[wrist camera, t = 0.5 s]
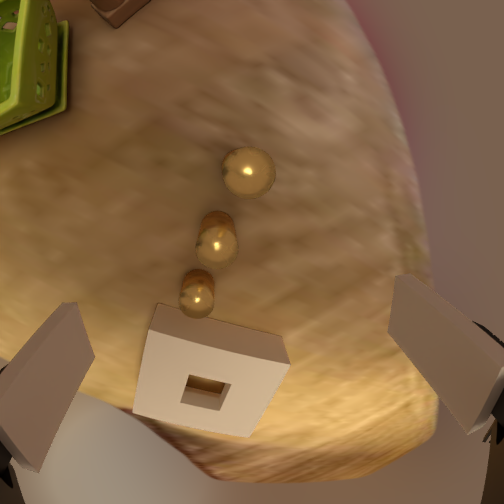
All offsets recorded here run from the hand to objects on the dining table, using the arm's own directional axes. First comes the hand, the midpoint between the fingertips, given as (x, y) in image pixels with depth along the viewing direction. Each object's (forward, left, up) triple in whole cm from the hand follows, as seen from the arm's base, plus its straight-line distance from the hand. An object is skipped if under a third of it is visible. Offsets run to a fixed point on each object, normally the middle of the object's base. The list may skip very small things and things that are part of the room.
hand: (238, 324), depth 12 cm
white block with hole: (+4, -20, -23) cm, 30 cm away
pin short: (0, -9, -23) cm, 25 cm away
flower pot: (-28, +9, -23) cm, 38 cm away
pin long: (0, +5, -23) cm, 23 cm away
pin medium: (0, -2, -23) cm, 23 cm away
